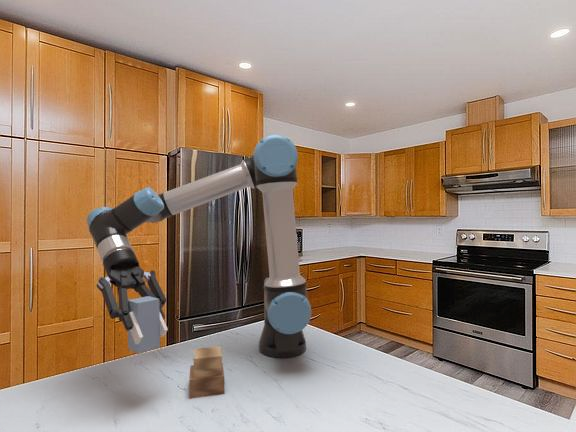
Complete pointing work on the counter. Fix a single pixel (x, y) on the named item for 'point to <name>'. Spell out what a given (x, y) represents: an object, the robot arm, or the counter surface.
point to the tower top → (207, 362)
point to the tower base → (205, 385)
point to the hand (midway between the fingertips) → (152, 336)
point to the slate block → (145, 323)
